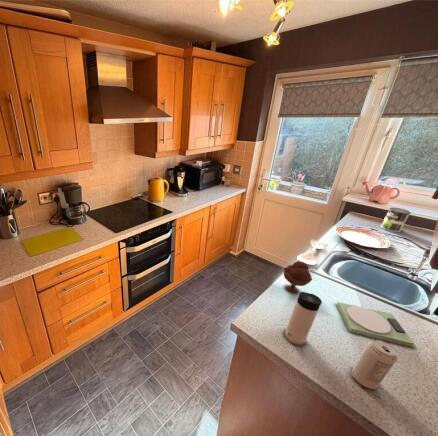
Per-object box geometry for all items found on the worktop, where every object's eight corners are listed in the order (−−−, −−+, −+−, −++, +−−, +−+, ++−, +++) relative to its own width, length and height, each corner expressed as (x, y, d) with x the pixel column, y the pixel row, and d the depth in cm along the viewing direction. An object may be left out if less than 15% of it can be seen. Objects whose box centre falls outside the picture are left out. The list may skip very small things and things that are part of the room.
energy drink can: (367, 371, 73) (388, 339, 66) (381, 392, 67) (406, 359, 61) (346, 368, 74) (365, 336, 67) (358, 388, 68) (380, 355, 62)
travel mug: (286, 343, 82) (302, 301, 73) (283, 328, 87) (297, 287, 79) (306, 349, 80) (325, 306, 71) (302, 333, 85) (319, 292, 77)
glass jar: (391, 232, 157) (401, 213, 151) (376, 225, 166) (385, 207, 160) (405, 231, 158) (415, 212, 152) (389, 225, 167) (398, 207, 161)
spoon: (327, 247, 139) (329, 242, 138) (312, 270, 119) (314, 264, 118) (310, 242, 145) (312, 237, 144) (293, 262, 125) (295, 257, 124)
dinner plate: (387, 239, 149) (390, 234, 147) (390, 257, 130) (392, 252, 129) (335, 226, 165) (336, 222, 164) (330, 240, 147) (332, 236, 145)
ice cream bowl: (274, 281, 112) (282, 255, 105) (299, 283, 110) (308, 257, 104) (283, 297, 102) (292, 269, 96) (310, 299, 101) (321, 272, 94)
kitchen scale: (389, 317, 92) (392, 312, 91) (411, 347, 80) (415, 342, 79) (336, 305, 98) (338, 300, 97) (349, 332, 86) (352, 327, 85)
